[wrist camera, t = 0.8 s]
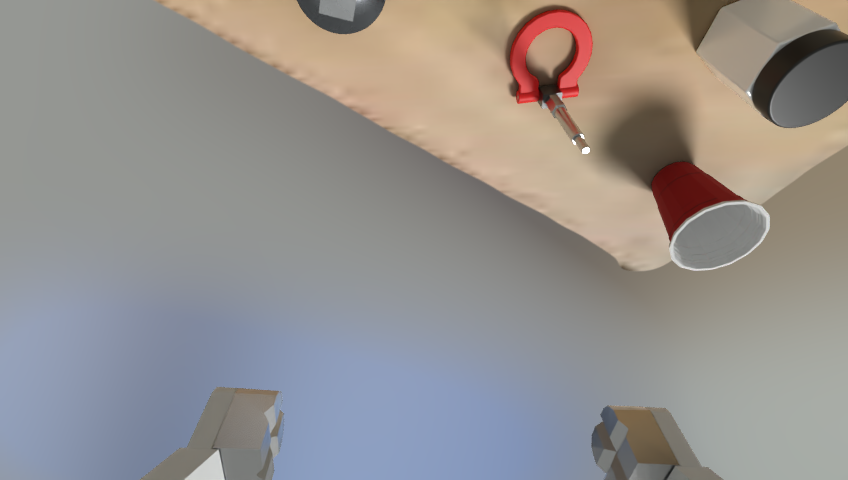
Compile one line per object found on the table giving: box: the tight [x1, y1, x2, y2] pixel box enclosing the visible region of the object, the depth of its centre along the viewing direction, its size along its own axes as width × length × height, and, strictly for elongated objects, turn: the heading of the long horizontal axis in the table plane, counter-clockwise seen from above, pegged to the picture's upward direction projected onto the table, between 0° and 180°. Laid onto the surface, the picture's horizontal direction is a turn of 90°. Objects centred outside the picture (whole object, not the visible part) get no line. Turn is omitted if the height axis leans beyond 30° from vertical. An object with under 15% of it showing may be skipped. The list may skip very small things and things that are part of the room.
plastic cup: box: [651, 161, 770, 271], centre depth 57 cm, size 11×11×12 cm
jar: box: [696, 0, 848, 128], centre depth 44 cm, size 9×8×12 cm
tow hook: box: [510, 9, 593, 154], centre depth 44 cm, size 8×13×9 cm
